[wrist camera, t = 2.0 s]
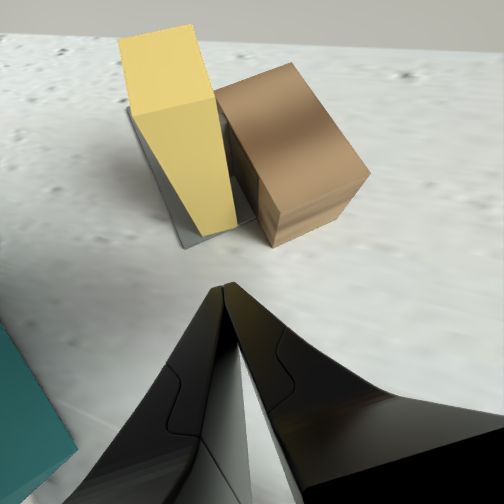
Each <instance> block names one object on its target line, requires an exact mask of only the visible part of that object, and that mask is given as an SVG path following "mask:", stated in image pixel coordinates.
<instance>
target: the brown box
mask: <svg viewBox="0 0 504 504" xmlns="http://www.w3.org/2000/svg"><path fill="white" fill-rule="evenodd" d="M213 92H214V95H215V99H216V105H217V110H218V116H219V122H220V127H221V133H222V139H223V144H224V150H225V156H226V161H227V167H228V173H229V177H231V176H234V175H235V178H236V180H237V181H238V183H239V185H240V187H241V189H242V191H243V193H244V195H245V197H246V199H247V201H248V203H249V204H250V206H251V208H252V210H253V212H254V214H255V216H256V218H257V219H258V221H259V223H260V225H261V227H262V229H263V231H264V232H265V234H266V236H267V238H268V240H269V242H270V244H271V246H272V248H275V247H277V246H279V245H281V244H284V243H286V242H288V241H290V240H292V239H295V238H297V237H299V236H301V235H303V234H305V233H308V232H310V231H312V230H314V229H316V228H319V227H321V226H323V225H325V224H327V223H329V222H332V221H334V220H336V219H337V218H338V217H339V215H340V214H341V213H342V211H343V210H344V209H345V207H346V206H347V205H348V203H349V202H350V201H351V199H352V198H353V197H354V195H355V194H356V193H357V191H358V190H359V189H360V187H361V186H362V185H363V183H364V182H365V181H366V179H367V178H368V177H369V175H370V174H371V173H370V171H369V170H368V168H367V167H366V166H365V164H364V163H363V161H362V160H361V159H360V157H359V156H358V154H357V153H356V152H355V150H354V149H353V147H352V146H351V145H350V143H349V142H348V140H347V139H346V138H345V136H344V135H343V133H342V132H341V131H340V129H339V128H338V126H337V125H336V124H335V122H334V121H333V119H332V118H331V117H330V115H329V114H328V112H327V111H326V110H325V108H324V107H323V105H322V104H321V103H320V101H319V100H318V99H317V97H316V96H315V94H314V93H313V92H312V90H311V89H310V87H309V86H308V85H307V83H306V82H305V80H304V79H303V78H302V76H301V75H300V73H299V72H298V71H297V69H296V68H295V66H294V65H293V64H292V62H291V63H288V64H285V65H283V66H280V67H277V68H274V69H272V70H269V71H266V72H264V73H261V74H258V75H255V76H253V77H250V78H247V79H245V80H242V81H239V82H236V83H234V84H231V85H228V86H226V87H223V88H220V89H217V90H215V91H213Z"/></svg>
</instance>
